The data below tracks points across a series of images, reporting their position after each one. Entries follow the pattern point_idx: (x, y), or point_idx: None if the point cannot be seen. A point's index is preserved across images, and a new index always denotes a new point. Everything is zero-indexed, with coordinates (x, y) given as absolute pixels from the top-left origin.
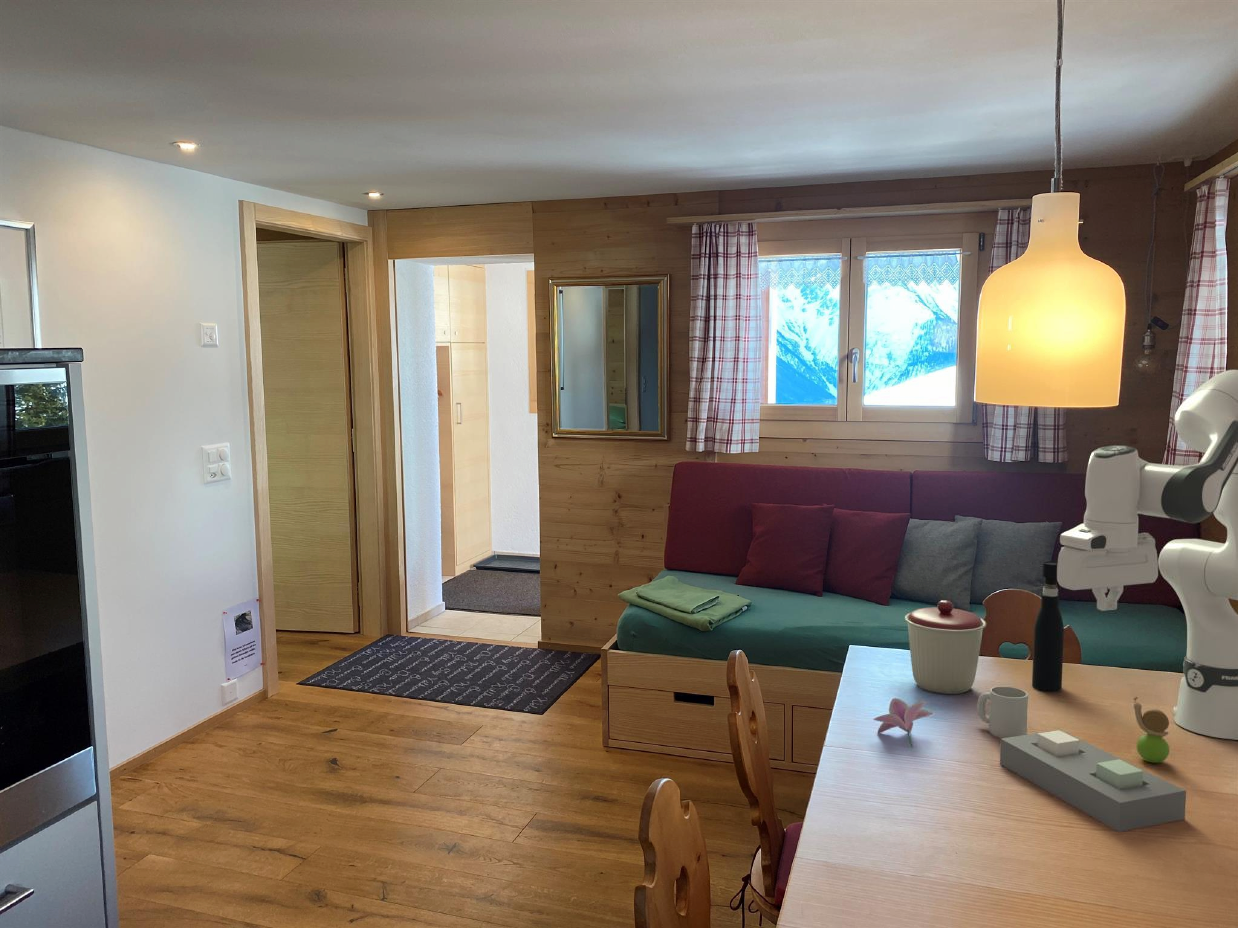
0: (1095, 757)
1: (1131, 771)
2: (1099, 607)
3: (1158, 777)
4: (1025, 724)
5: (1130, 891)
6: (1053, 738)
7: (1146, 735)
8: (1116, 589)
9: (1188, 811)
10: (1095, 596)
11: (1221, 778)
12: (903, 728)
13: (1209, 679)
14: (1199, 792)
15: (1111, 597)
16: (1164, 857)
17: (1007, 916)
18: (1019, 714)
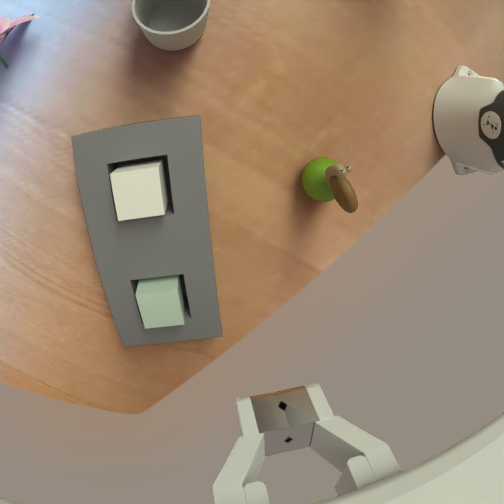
0: (176, 234)
1: (167, 323)
2: (237, 412)
3: (217, 304)
4: (189, 42)
5: (89, 387)
6: (124, 199)
7: (322, 179)
8: (338, 489)
9: (238, 301)
10: (230, 454)
11: (349, 239)
12: (16, 20)
13: (494, 146)
14: (292, 265)
15: (320, 442)
16: (143, 363)
17: (6, 382)
18: (170, 42)
